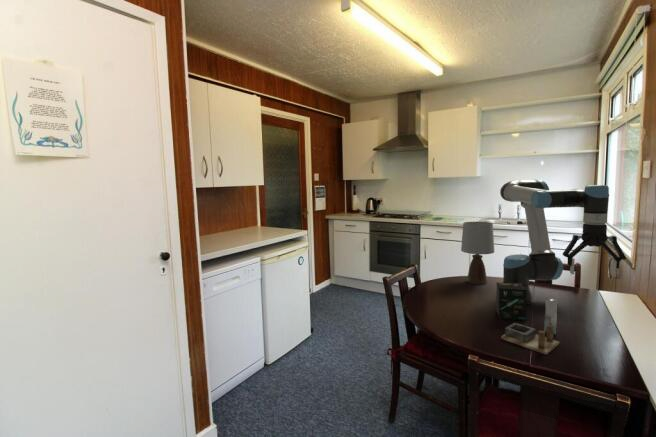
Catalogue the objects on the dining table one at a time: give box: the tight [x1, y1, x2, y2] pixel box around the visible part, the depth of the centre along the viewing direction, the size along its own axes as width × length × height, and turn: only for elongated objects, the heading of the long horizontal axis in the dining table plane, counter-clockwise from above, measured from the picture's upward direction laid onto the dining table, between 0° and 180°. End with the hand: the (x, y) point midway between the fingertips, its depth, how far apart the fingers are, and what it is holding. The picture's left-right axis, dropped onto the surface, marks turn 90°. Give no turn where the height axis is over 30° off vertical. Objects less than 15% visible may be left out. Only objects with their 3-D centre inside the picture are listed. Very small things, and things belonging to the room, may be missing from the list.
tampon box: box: [495, 282, 527, 322], centre depth 150 cm, size 11×9×15 cm
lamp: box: [460, 221, 495, 285], centre depth 201 cm, size 19×19×37 cm
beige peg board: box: [500, 322, 560, 355], centre depth 127 cm, size 16×12×7 cm
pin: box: [543, 297, 558, 336], centre depth 133 cm, size 4×4×14 cm
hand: (592, 274), depth 133 cm, fingers open, 13 cm apart
